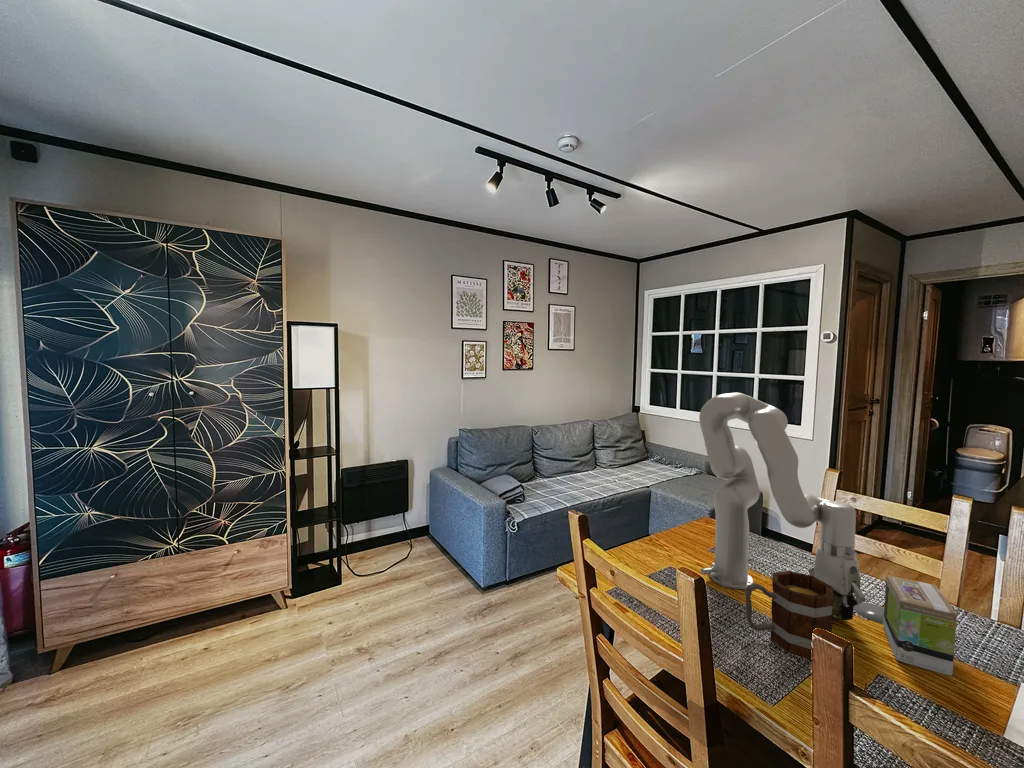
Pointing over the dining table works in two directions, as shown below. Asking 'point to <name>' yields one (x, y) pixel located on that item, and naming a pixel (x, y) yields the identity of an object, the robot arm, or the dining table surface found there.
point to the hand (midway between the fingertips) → (834, 610)
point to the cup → (837, 605)
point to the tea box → (919, 624)
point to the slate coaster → (870, 611)
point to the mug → (795, 610)
